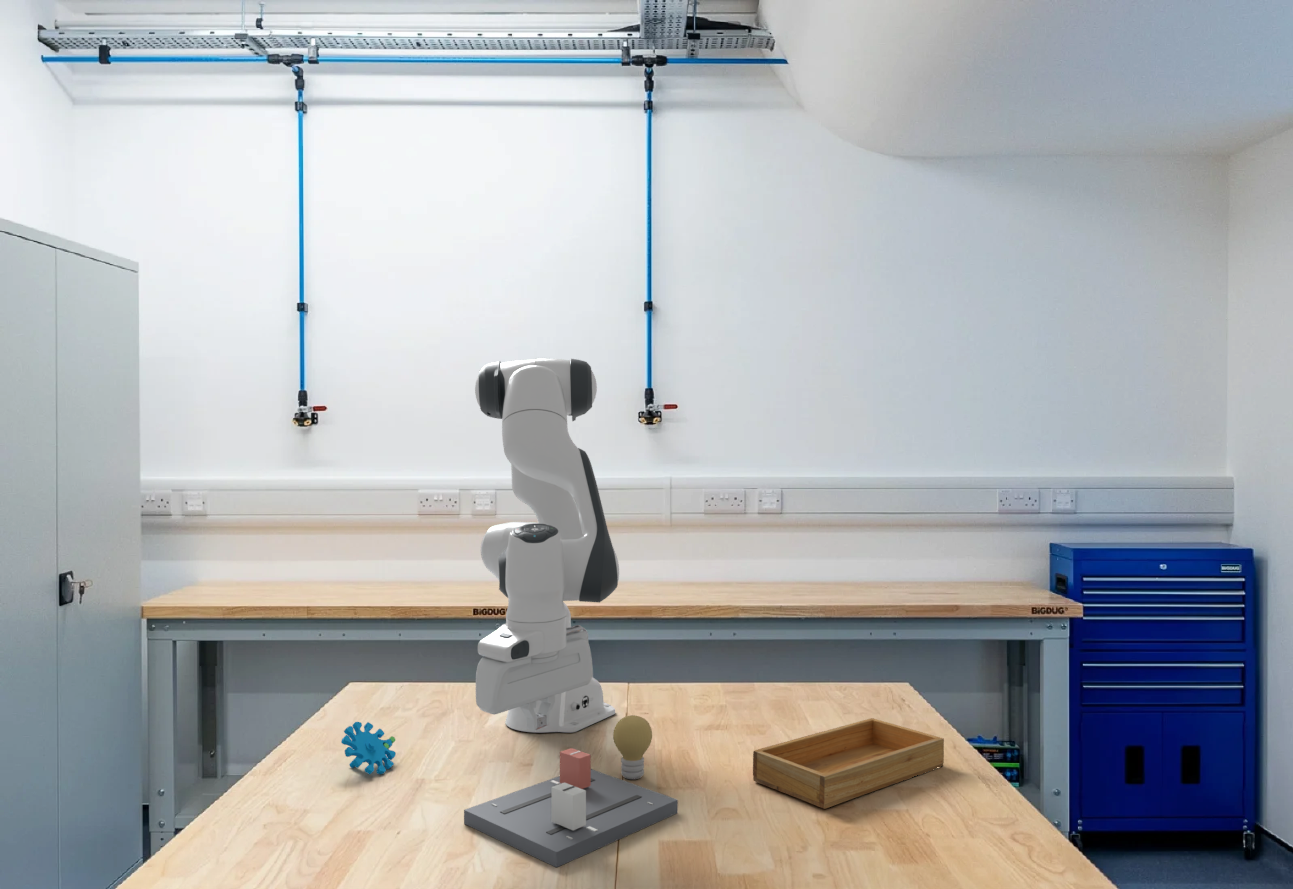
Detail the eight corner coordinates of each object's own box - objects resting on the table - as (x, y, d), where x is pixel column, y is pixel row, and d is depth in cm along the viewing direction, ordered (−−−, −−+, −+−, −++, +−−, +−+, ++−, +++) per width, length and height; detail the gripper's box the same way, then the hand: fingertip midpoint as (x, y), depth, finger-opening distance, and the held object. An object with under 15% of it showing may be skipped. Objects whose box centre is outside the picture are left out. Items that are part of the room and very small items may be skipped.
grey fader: (564, 816, 132) (564, 781, 132) (585, 825, 129) (585, 789, 129) (551, 821, 130) (551, 786, 130) (572, 830, 127) (573, 794, 127)
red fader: (571, 778, 146) (571, 747, 146) (590, 785, 143) (590, 754, 143) (559, 782, 145) (559, 751, 145) (579, 790, 142) (579, 757, 142)
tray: (871, 746, 170) (871, 715, 170) (944, 769, 159) (944, 735, 159) (752, 785, 151) (752, 750, 151) (824, 814, 139) (824, 776, 139)
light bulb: (657, 772, 155) (657, 712, 155) (644, 786, 149) (644, 724, 149) (621, 768, 158) (621, 709, 157) (607, 781, 151) (607, 719, 151)
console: (585, 779, 152) (585, 766, 152) (677, 813, 139) (677, 798, 139) (464, 823, 135) (464, 809, 135) (556, 867, 121) (556, 851, 121)
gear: (363, 774, 150) (336, 722, 154) (341, 796, 151) (316, 744, 156) (411, 763, 159) (385, 714, 164) (391, 784, 161) (365, 735, 165)
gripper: (573, 619, 148) (574, 705, 148) (468, 645, 133) (470, 741, 133) (601, 625, 144) (602, 714, 144) (496, 653, 128) (498, 752, 129)
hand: (538, 727), depth 139 cm, fingers closed
